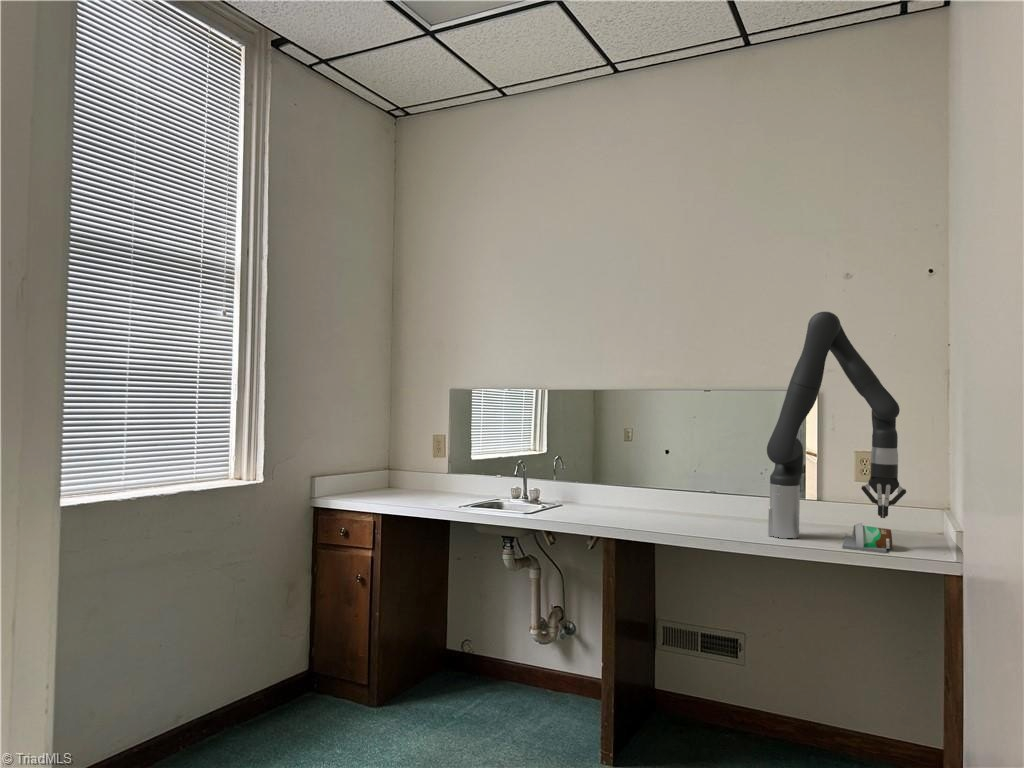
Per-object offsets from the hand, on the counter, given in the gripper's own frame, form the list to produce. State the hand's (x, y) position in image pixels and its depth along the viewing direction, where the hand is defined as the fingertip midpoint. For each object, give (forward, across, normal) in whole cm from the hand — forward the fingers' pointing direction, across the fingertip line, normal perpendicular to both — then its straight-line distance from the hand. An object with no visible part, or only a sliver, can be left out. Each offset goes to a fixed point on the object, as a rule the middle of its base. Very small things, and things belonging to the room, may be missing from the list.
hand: (882, 517), depth 220 cm
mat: (+9, -5, 0) cm, 10 cm away
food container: (+5, +2, -1) cm, 6 cm away
